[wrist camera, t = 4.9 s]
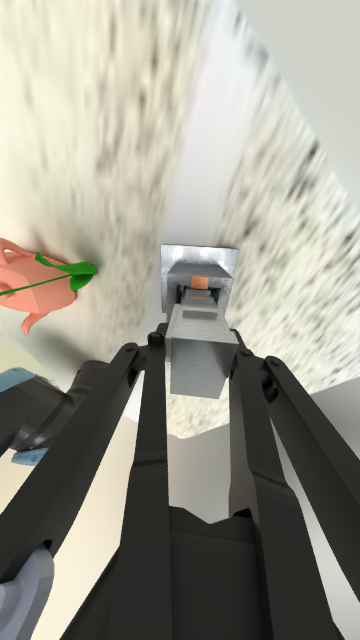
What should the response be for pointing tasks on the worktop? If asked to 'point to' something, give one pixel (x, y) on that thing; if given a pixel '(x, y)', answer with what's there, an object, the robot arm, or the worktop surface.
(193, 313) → the column
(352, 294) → the worktop surface
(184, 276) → the stand base
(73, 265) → the flower
